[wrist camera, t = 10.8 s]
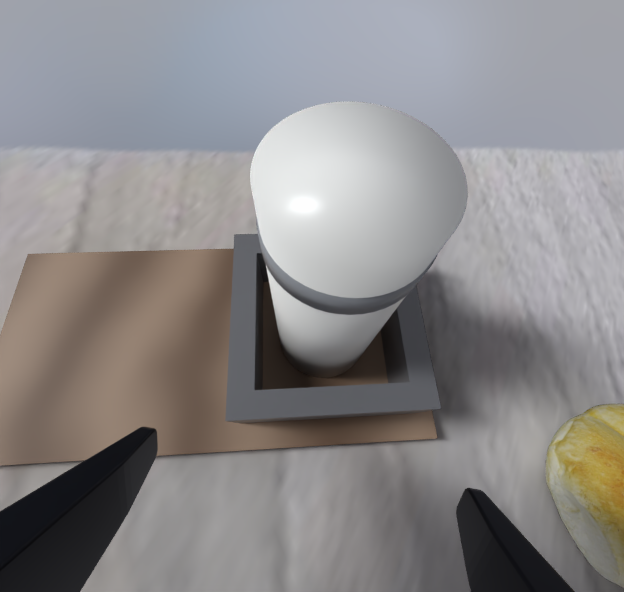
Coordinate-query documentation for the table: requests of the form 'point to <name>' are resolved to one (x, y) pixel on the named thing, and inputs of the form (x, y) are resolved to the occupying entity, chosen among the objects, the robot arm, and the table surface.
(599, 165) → the table surface
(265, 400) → the socket collar
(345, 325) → the white capped cylinder
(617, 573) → the bread roll
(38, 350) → the board
